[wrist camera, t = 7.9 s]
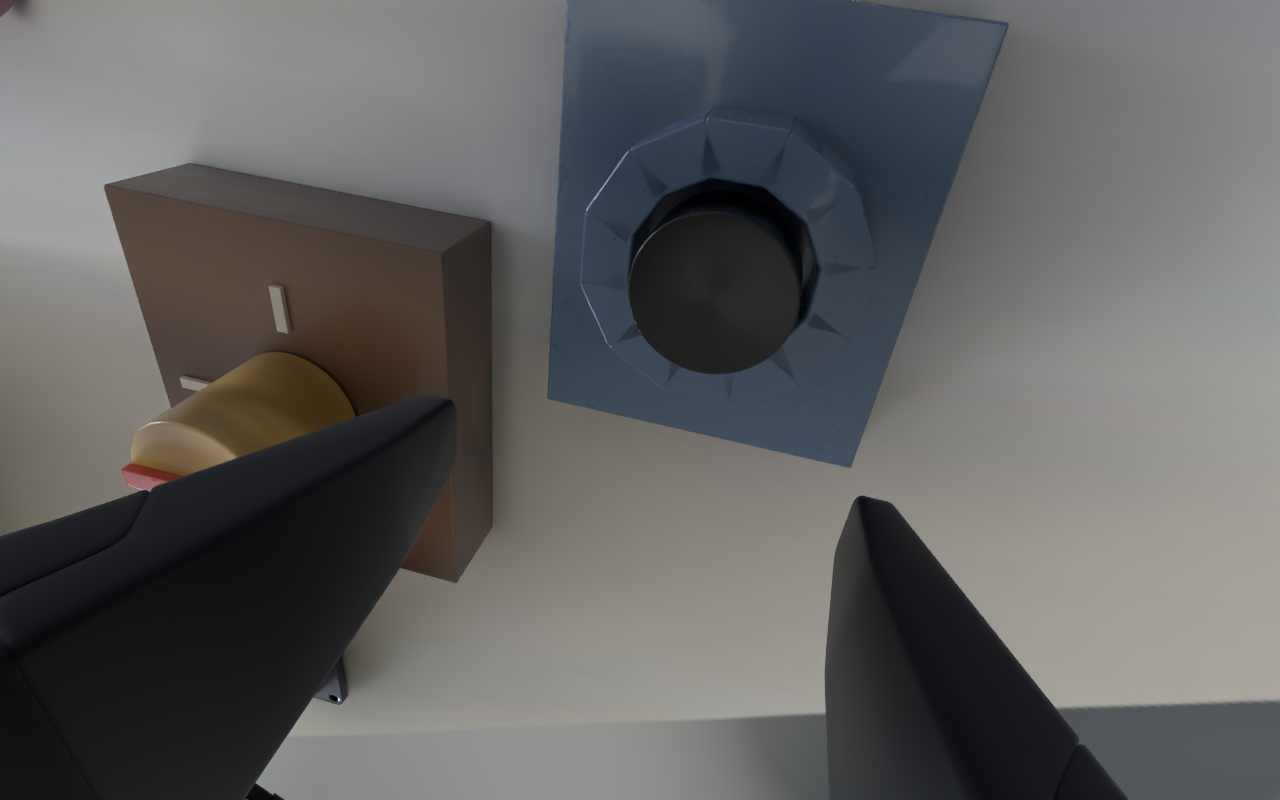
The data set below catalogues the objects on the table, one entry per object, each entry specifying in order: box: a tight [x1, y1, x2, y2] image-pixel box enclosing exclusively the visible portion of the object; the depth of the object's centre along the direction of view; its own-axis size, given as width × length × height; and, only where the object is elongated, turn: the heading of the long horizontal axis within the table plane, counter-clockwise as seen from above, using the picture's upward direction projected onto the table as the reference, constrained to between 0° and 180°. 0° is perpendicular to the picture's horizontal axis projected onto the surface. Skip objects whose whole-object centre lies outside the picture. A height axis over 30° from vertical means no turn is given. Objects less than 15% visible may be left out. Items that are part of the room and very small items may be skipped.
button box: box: [548, 0, 1008, 468], centre depth 16 cm, size 11×9×4 cm
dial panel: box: [104, 163, 492, 583], centre depth 22 cm, size 12×10×3 cm
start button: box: [628, 191, 803, 375], centre depth 15 cm, size 4×4×2 cm
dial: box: [122, 352, 356, 491], centre depth 19 cm, size 4×4×4 cm
